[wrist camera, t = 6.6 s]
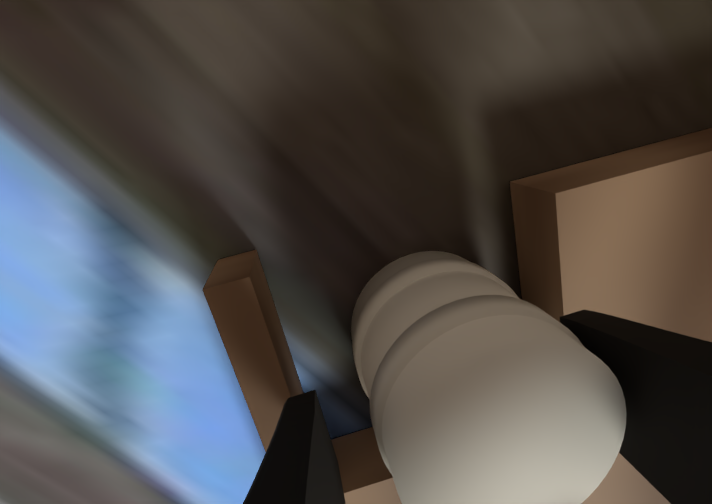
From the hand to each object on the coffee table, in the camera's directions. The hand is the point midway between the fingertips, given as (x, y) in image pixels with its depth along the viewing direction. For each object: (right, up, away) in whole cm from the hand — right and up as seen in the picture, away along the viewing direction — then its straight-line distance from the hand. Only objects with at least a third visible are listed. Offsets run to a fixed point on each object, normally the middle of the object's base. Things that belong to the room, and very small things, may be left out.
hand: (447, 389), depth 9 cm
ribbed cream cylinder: (0, +1, +3) cm, 3 cm away
